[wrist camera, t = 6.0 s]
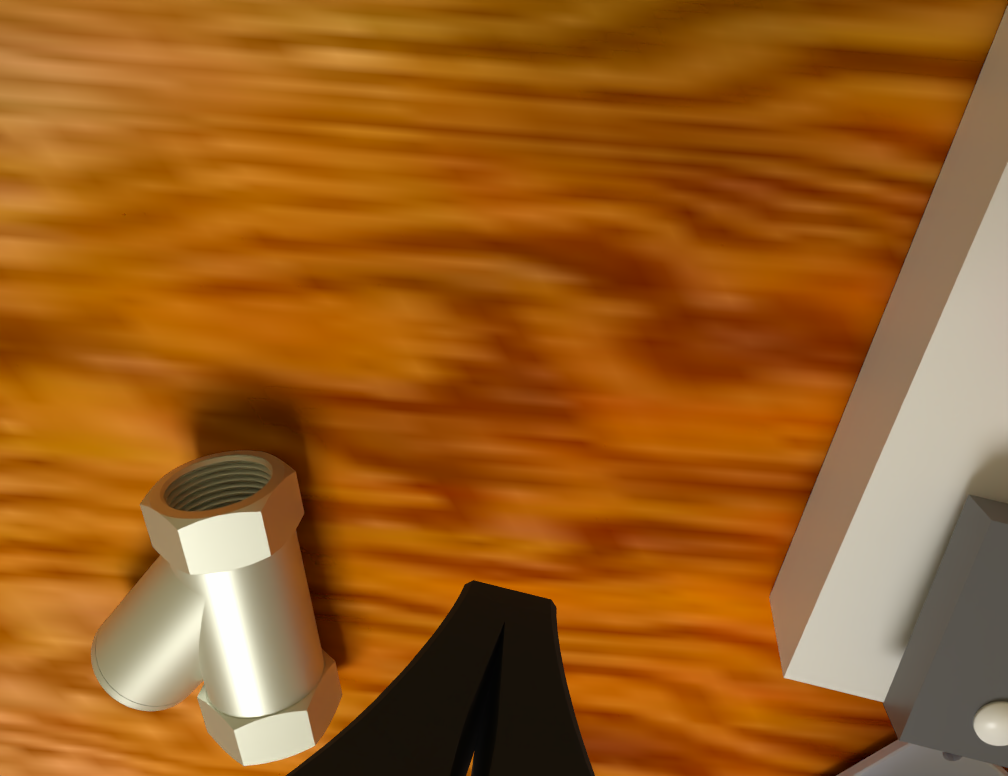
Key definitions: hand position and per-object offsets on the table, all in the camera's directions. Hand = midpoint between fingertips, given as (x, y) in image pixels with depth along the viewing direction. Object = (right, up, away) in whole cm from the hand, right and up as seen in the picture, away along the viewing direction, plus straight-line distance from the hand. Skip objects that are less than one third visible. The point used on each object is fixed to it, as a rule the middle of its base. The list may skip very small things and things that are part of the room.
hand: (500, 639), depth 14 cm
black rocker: (+11, -1, +4) cm, 11 cm away
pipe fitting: (-8, -1, +13) cm, 16 cm away
